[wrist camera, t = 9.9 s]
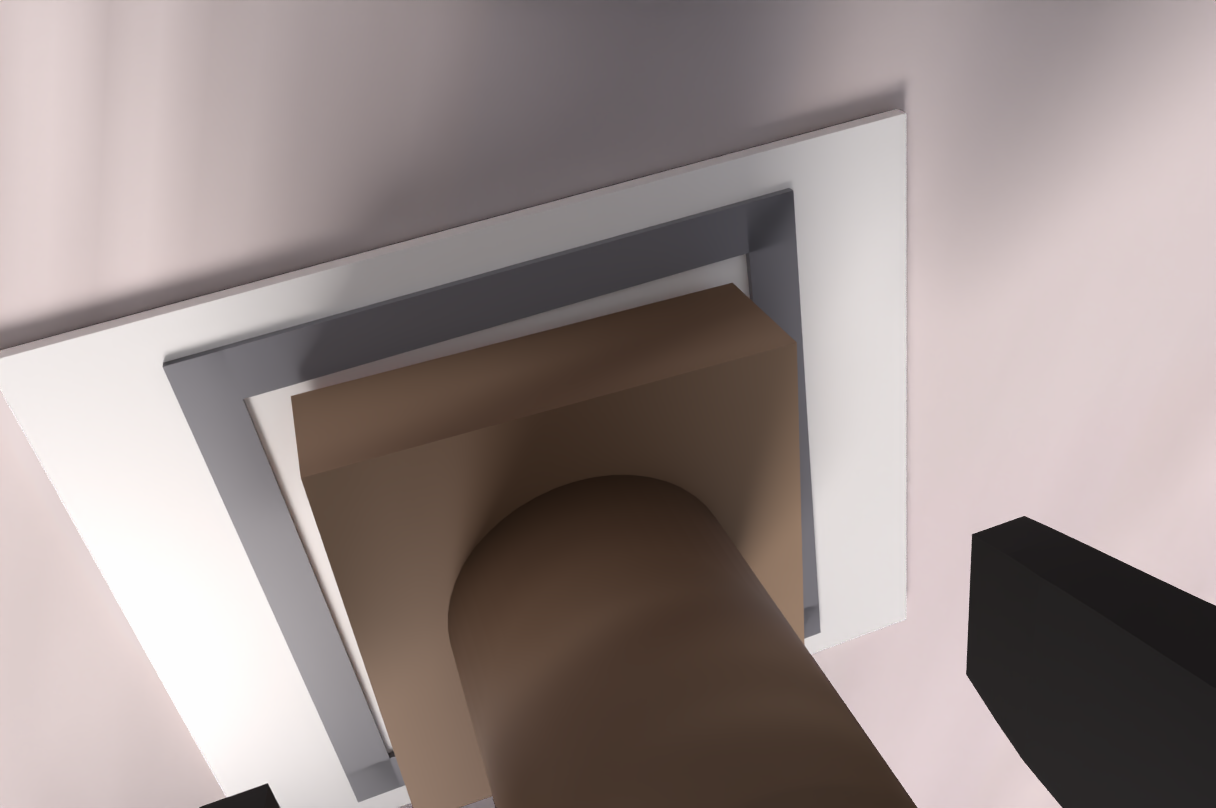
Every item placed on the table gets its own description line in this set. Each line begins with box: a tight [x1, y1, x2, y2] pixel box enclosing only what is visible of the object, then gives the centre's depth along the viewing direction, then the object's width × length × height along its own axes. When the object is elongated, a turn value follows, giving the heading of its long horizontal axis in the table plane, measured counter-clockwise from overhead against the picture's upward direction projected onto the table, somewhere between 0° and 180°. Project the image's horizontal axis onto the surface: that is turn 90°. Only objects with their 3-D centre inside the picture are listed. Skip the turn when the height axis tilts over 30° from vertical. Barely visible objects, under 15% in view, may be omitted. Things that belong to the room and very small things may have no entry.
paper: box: [0, 109, 906, 808], centre depth 13 cm, size 10×8×1 cm
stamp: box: [291, 283, 917, 808], centre depth 10 cm, size 5×5×6 cm
